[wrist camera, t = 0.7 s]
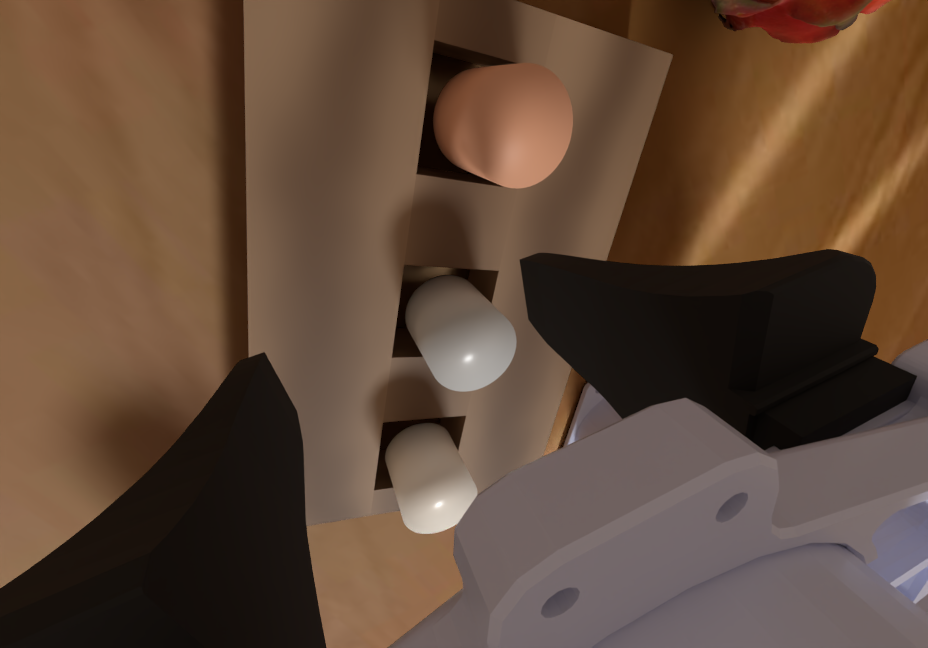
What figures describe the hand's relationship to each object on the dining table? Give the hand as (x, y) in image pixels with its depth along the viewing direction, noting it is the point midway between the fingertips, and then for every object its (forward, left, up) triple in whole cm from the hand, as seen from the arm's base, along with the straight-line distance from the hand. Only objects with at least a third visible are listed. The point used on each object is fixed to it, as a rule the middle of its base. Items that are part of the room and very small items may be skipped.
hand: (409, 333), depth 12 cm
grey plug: (-4, +2, -7) cm, 8 cm away
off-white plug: (-4, +10, -7) cm, 13 cm away
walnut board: (-4, +2, -10) cm, 11 cm away
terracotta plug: (-4, -6, -7) cm, 10 cm away
